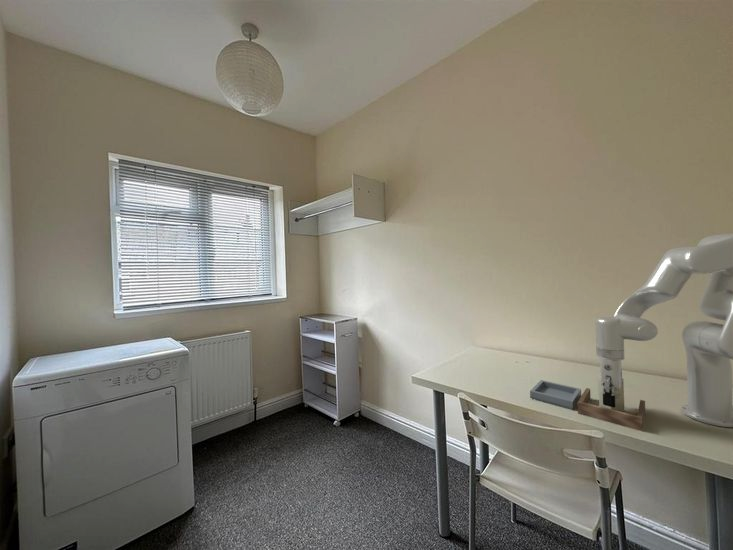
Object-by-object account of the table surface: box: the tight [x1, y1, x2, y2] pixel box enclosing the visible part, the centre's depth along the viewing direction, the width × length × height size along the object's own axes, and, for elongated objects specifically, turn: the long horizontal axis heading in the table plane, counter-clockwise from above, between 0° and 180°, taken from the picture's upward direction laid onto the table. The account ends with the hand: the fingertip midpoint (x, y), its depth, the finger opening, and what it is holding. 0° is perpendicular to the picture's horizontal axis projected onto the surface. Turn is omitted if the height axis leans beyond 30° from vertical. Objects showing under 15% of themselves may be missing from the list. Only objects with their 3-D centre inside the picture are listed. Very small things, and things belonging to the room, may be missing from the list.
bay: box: [577, 387, 646, 432], centre depth 100 cm, size 16×15×4 cm
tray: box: [529, 379, 582, 411], centre depth 113 cm, size 14×14×3 cm
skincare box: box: [597, 376, 626, 413], centre depth 101 cm, size 6×4×12 cm
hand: (611, 400), depth 101 cm, fingers open, 9 cm apart
